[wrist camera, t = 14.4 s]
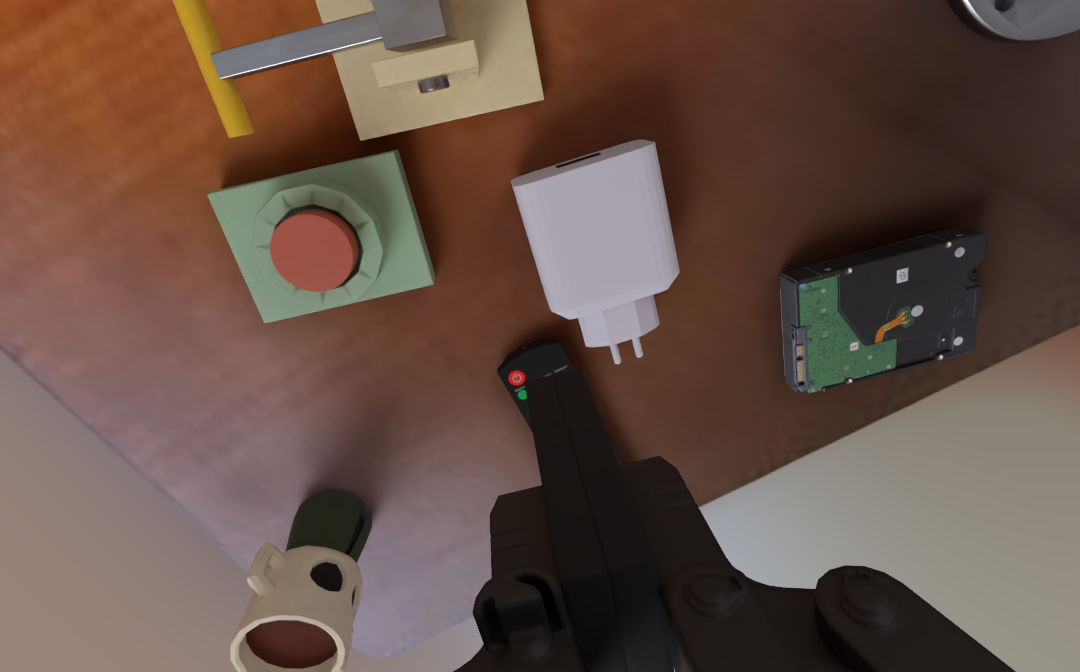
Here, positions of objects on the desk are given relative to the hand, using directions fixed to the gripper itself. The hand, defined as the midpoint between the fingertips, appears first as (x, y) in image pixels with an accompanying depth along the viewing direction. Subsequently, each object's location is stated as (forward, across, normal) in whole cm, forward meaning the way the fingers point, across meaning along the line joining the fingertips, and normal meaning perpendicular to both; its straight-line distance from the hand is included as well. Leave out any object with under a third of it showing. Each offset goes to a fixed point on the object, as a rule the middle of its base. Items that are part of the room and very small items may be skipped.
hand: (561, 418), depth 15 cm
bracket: (+26, -2, +12) cm, 29 cm away
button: (+23, -12, +2) cm, 26 cm away
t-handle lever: (+17, -6, +12) cm, 22 cm away
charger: (+27, +6, -4) cm, 28 cm away
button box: (+26, -12, +2) cm, 29 cm away
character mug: (+27, -20, -21) cm, 39 cm away
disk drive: (+27, +27, -13) cm, 40 cm away
